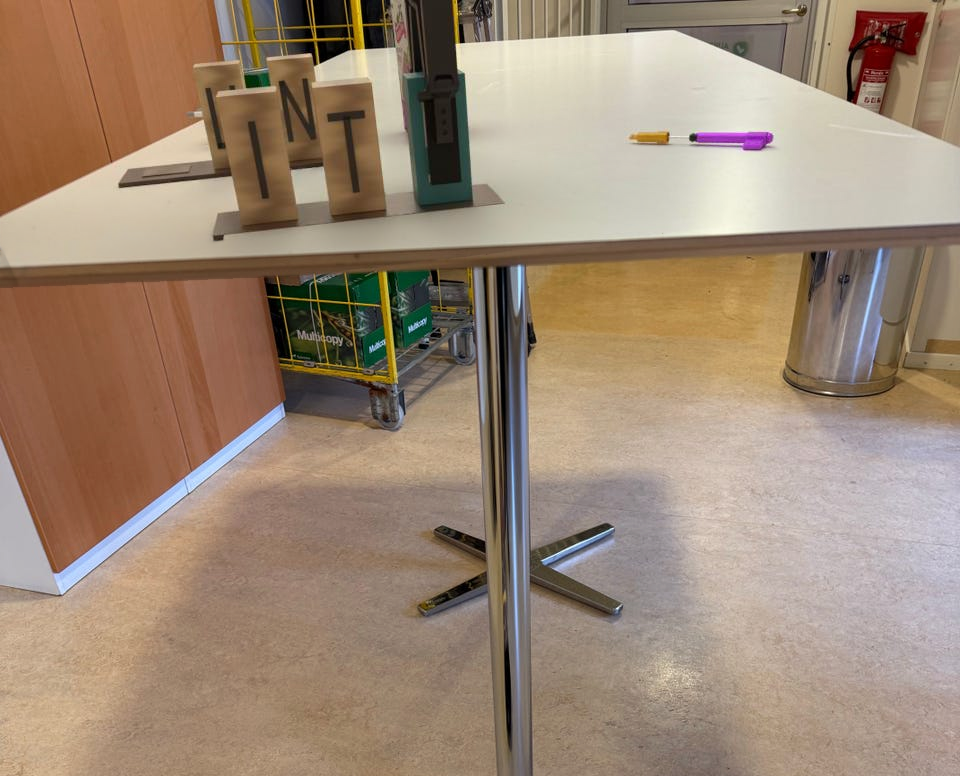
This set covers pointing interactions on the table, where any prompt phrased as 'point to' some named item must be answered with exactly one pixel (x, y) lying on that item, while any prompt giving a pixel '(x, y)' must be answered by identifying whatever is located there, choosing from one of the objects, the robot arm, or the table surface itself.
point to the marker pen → (710, 138)
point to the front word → (344, 154)
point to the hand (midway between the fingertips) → (441, 176)
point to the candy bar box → (401, 45)
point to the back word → (210, 78)
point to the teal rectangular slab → (419, 150)
